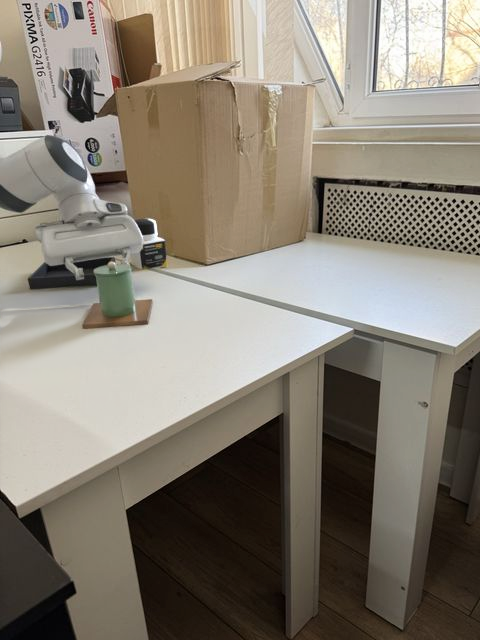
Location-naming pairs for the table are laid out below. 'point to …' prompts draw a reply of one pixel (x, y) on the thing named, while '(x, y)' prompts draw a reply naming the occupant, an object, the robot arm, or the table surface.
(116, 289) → the green pot
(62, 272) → the tray
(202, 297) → the table surface
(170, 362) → the table surface
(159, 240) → the medicine bottle
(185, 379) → the table surface
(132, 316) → the wooden coaster
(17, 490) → the table surface
